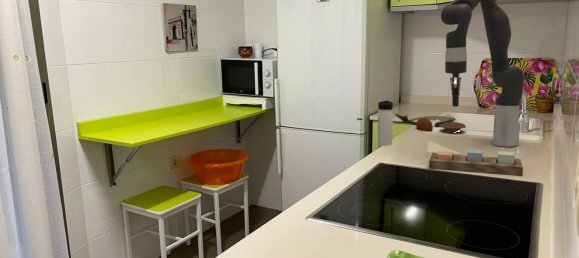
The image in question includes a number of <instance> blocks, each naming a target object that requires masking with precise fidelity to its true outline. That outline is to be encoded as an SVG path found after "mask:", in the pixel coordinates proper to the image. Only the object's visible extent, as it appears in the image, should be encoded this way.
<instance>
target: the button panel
mask: <svg viewBox="0 0 579 258" xmlns="http://www.w3.org/2000/svg"><path fill="white" fill-rule="evenodd" d="M437 154H438V152H432V154H431V155H430V158H429V160H428V169H430V170H431V169H432V170H442V171H443V170H445V171H458V172H466V173H467V172H469V173H470V172H471V173H480V174H494V175H508V176H516V177H517V176H519V177H523V174H524V173H523V171H524V166H523V163H522V159H521V158H514V164H501V163H498V156H497V157H496V156H483V157H482V162H473V161H467V154H454V153H453V160H445V159H437Z"/></svg>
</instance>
